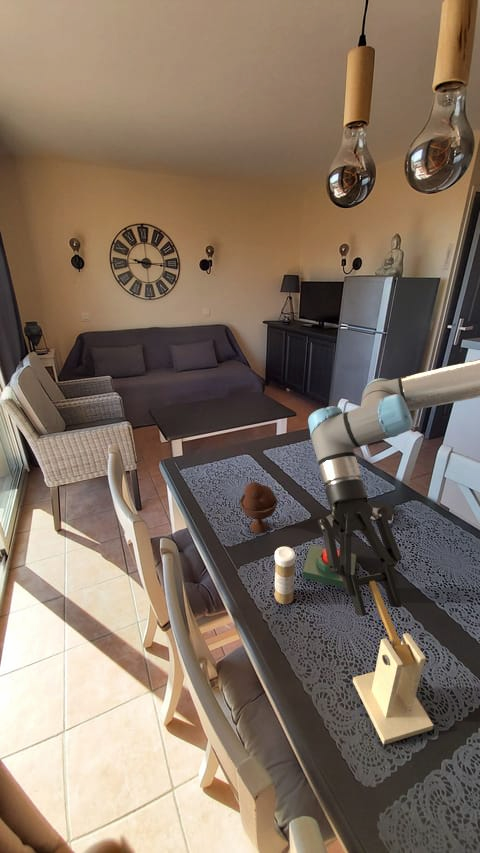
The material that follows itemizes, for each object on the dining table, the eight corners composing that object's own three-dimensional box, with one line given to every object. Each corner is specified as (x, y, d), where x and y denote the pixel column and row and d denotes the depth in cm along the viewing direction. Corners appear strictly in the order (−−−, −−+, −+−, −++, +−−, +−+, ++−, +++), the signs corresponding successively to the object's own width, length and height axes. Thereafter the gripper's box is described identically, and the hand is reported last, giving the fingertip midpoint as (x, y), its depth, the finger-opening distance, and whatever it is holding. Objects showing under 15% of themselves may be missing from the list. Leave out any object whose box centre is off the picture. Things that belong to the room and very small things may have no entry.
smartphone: (392, 521, 106) (340, 509, 112) (391, 524, 107) (340, 512, 113) (394, 506, 113) (345, 495, 119) (393, 509, 114) (344, 498, 119)
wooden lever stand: (352, 681, 67) (361, 626, 61) (395, 669, 69) (408, 615, 63) (383, 744, 58) (396, 687, 52) (432, 729, 60) (450, 672, 54)
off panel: (355, 560, 94) (357, 549, 93) (352, 590, 86) (354, 578, 84) (309, 550, 98) (310, 539, 96) (302, 578, 90) (303, 565, 88)
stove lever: (351, 580, 66) (355, 576, 64) (380, 574, 67) (385, 570, 65) (385, 671, 58) (391, 669, 56) (418, 662, 59) (425, 660, 57)
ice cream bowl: (247, 543, 101) (246, 499, 95) (236, 519, 111) (235, 477, 105) (282, 535, 104) (283, 491, 98) (269, 512, 114) (269, 471, 108)
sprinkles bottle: (282, 586, 87) (283, 542, 82) (297, 596, 84) (299, 552, 79) (270, 597, 85) (270, 553, 79) (285, 609, 82) (286, 563, 76)
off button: (339, 554, 91) (340, 548, 91) (338, 566, 88) (338, 559, 87) (323, 551, 93) (324, 545, 92) (321, 562, 89) (321, 555, 88)
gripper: (377, 480, 77) (414, 598, 69) (292, 493, 73) (321, 619, 65) (395, 471, 70) (439, 601, 62) (303, 485, 66) (336, 625, 58)
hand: (378, 610), depth 64 cm, fingers closed on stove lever, 6 cm apart
